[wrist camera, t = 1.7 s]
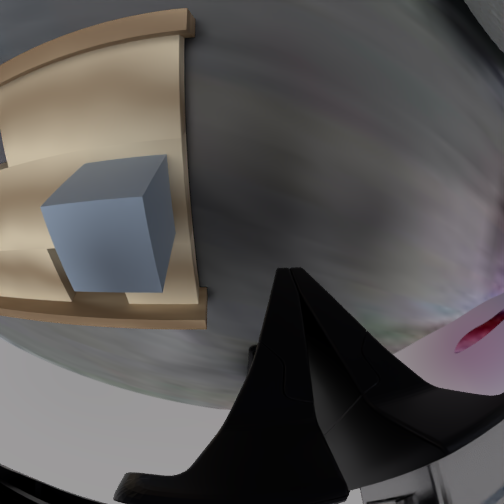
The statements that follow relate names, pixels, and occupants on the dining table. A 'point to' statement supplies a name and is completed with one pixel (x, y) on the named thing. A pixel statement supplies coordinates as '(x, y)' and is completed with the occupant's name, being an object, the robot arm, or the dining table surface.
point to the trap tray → (94, 150)
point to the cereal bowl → (490, 18)
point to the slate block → (114, 225)
